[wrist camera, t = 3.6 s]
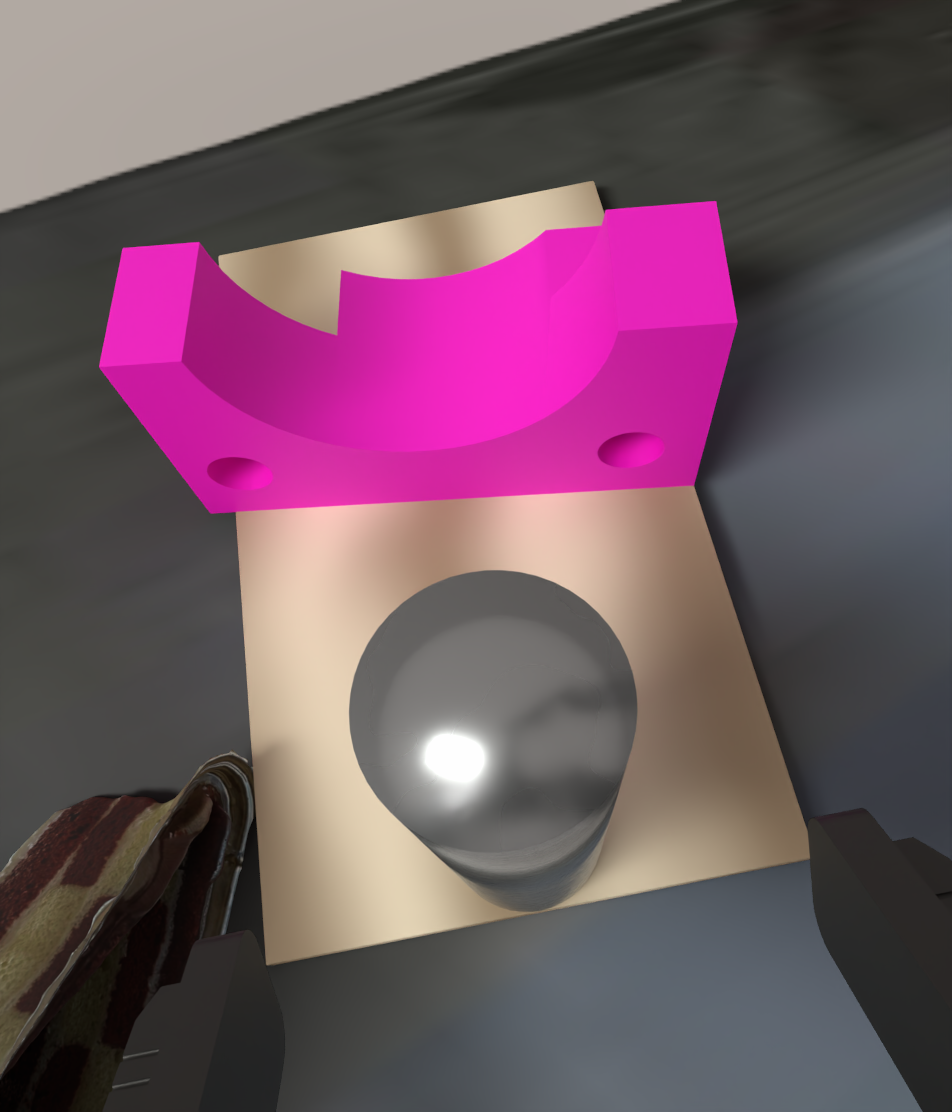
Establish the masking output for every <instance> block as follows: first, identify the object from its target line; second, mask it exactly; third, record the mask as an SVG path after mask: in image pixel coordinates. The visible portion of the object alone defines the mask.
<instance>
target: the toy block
mask: <svg viewBox="0 0 952 1112" xmlns="http://www.w3.org/2000/svg"><path fill="white" fill-rule="evenodd" d="M737 323H738V322H737V317H736V311H735V305H734V300H733V294H732V289H731V283H730V277H729V272H728V266H727V260H726V255H725V249H724V244H723V238H722V232H721V227H720V221H719V215H718V210H717V204H716V201H711V202H699V203H686V204H673V205H661V206H648V207H636V208H623V209H611V210H606V211H605V215H604V219H603V222H602V226H590V227H577V228H564V229H551V230H545V231H544V232H543V233H542V234H540V235H539V236H538V237H537V238H535V239H534V240H533V241H531V242H530V243H528V244H527V245H525V246H524V247H522V248H521V249H519V250H518V251H516V252H514V253H512V254H510V255H508V256H506V257H504V258H503V259H500V260H498V261H496V262H493V263H491V264H488V265H486V266H483V267H480V268H477V269H474V270H471V271H467V272H463V273H458V274H454V275H449V276H442V277H436V278H424V279H391V278H379V277H373V276H367V275H361V274H356V273H352V272H348V271H344V270H341V279H340V295H339V311H338V327H337V335H334V334H331V333H327V332H324V331H321V330H318V329H315V328H312V327H310V326H307V325H304V324H302V323H300V322H297V321H295V320H293V319H291V318H288V317H286V316H284V315H282V314H281V313H279V312H277V311H275V310H273V309H271V308H270V307H268V306H266V305H265V304H263V303H262V302H260V301H259V300H257V299H256V298H254V297H253V296H251V295H250V294H249V293H247V292H246V291H245V290H244V289H242V288H241V287H240V286H238V285H237V284H236V283H235V282H234V281H233V280H232V279H231V278H230V277H229V276H227V275H226V274H225V273H224V272H223V271H222V270H221V268H220V267H219V266H218V265H217V264H216V263H215V262H214V261H213V260H212V258H211V257H210V256H209V254H208V253H207V252H206V250H205V249H204V248H203V246H202V245H201V243H200V242H195V243H182V244H170V245H157V246H145V247H132V248H123V250H122V255H121V260H120V265H119V270H118V275H117V280H116V285H115V290H114V295H113V300H112V305H111V310H110V315H109V320H108V325H107V330H106V335H105V340H104V345H103V350H102V355H101V360H100V365H99V368H100V369H101V370H102V372H103V373H104V374H105V376H106V377H107V378H108V380H109V381H110V382H111V383H112V385H113V386H114V387H115V389H116V390H117V391H118V393H119V394H120V395H121V397H122V398H123V399H124V401H125V402H126V403H127V404H128V406H129V407H130V408H131V410H132V411H133V412H134V414H135V415H136V416H137V418H138V419H139V420H140V422H141V423H142V424H143V425H144V427H145V428H146V429H147V431H148V432H149V433H150V435H151V436H152V437H153V439H154V440H155V441H156V443H157V444H158V445H159V446H160V448H161V449H162V450H163V452H164V453H165V454H166V456H167V457H168V458H169V460H170V461H171V462H172V464H173V465H174V466H175V467H176V469H177V470H178V471H179V473H180V474H181V475H182V477H183V478H184V479H185V481H186V482H187V483H188V485H189V486H190V487H191V488H192V490H193V491H194V492H195V494H196V495H197V496H198V498H199V499H200V500H201V502H202V503H203V504H204V506H205V507H206V508H207V509H208V511H209V512H210V513H228V512H241V511H259V510H276V509H294V508H311V507H329V506H346V505H364V504H381V503H399V502H416V501H434V500H451V499H469V498H486V497H504V496H521V495H539V494H556V493H574V492H591V491H609V490H626V489H644V488H661V487H679V486H694V483H695V480H696V476H697V472H698V468H699V465H700V461H701V457H702V454H703V450H704V446H705V442H706V439H707V435H708V431H709V427H710V424H711V420H712V416H713V412H714V409H715V405H716V401H717V398H718V394H719V390H720V386H721V383H722V379H723V375H724V371H725V368H726V364H727V360H728V357H729V353H730V349H731V345H732V342H733V338H734V334H735V330H736V327H737Z"/></svg>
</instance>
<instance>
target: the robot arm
mask: <svg viewBox="0 0 952 1112" xmlns="http://www.w3.org/2000/svg"><path fill="white" fill-rule="evenodd" d="M808 841H809V854H810V866H811V879H812V892H813V904H814V910H815V915H816V919H817V923H818V926H819V929H820V932H821V935H822V938H823V940H824V943H825V945H826V947H827V949H828V951H829V953H830V955H831V956H832V958H833V960H834V961H835V963H836V965H837V966H838V968H839V970H840V972H841V973H842V975H843V977H844V978H845V980H846V982H847V984H848V985H849V987H850V989H851V990H852V992H853V994H854V995H855V997H856V999H857V1001H858V1002H859V1004H860V1006H861V1007H862V1009H863V1011H864V1012H865V1014H866V1016H867V1018H868V1019H869V1021H870V1023H871V1024H872V1026H873V1028H874V1029H875V1031H876V1033H877V1035H878V1036H879V1038H880V1040H881V1041H882V1043H883V1045H884V1046H885V1048H886V1050H887V1052H888V1053H889V1055H890V1057H891V1058H892V1060H893V1062H894V1063H895V1065H896V1067H897V1069H898V1070H899V1072H900V1074H901V1075H902V1077H903V1079H904V1080H905V1082H906V1084H907V1086H908V1087H909V1089H910V1091H911V1092H912V1094H913V1096H914V1097H915V1099H916V1101H917V1103H918V1104H919V1106H920V1108H921V1109H922V1111H923V1112H952V861H951V860H950V859H949V858H947V857H946V856H944V855H942V854H941V853H939V852H937V851H936V850H934V849H932V848H931V847H929V846H927V845H926V844H924V843H922V842H920V841H919V840H917V839H915V838H914V837H912V838H907V839H902V840H897V841H892V840H891V839H890V838H889V836H888V835H887V834H886V833H885V831H884V830H883V829H882V828H881V826H880V825H879V824H878V823H877V821H876V820H875V819H874V818H873V816H872V815H871V814H870V813H869V812H868V811H867V810H866V809H863V808H859V809H854V810H849V811H844V812H839V813H834V814H829V815H824V816H819V817H814V818H811V819H810V820H809V822H808ZM284 1057H285V1033H284V1024H283V1018H282V1013H281V1010H280V1006H279V1004H278V1001H277V998H276V995H275V992H274V989H273V986H272V983H271V980H270V977H269V974H268V972H267V969H266V966H265V963H264V960H263V957H262V954H261V951H260V948H259V945H258V942H257V940H256V937H255V936H254V934H253V932H252V931H250V930H244V931H239V932H234V933H229V934H224V935H219V936H214V937H209V938H204V939H199V940H197V941H196V942H195V943H194V944H193V946H192V949H191V952H190V955H189V958H188V961H187V964H186V967H185V970H184V974H183V977H182V980H181V983H177V984H172V985H167V986H162V987H161V988H160V989H159V990H158V991H157V993H156V994H155V995H154V997H153V998H152V999H151V1001H150V1002H149V1003H148V1004H147V1006H146V1007H145V1008H144V1010H143V1011H142V1012H141V1014H140V1015H139V1016H138V1017H137V1019H136V1020H135V1023H134V1026H133V1028H132V1031H131V1034H130V1037H129V1039H128V1042H127V1045H126V1048H125V1050H124V1053H123V1062H120V1064H119V1067H118V1070H117V1072H116V1075H115V1078H114V1081H113V1084H112V1087H113V1090H112V1092H109V1095H108V1097H107V1100H106V1103H105V1106H104V1108H103V1111H102V1112H276V1107H277V1101H278V1095H279V1089H280V1083H281V1076H282V1070H283V1064H284Z"/></svg>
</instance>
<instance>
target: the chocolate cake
mask: <svg viewBox="0 0 952 1112" xmlns="http://www.w3.org/2000/svg"><path fill="white" fill-rule="evenodd" d="M255 815H256V805H255V791H254V776H253V767H249V766H248V763H247V759H245V758H241V757H240V756H238V755H237V754H236V753H235V752H234V751H233V750H231V752H230V753H228V754H221V755H220V756H218V755H217V756H216V757H214V758H210V759H209V760H208V761H207V762H206V763H204V765H203V766H200V767H199V769H198V770H197V772H196V773H195V775H194V776H193V778H192V779H191V780H190V781H189V782H188V784H187V785H186V786H185V787H184V788H183V789H182V791H181V792H180V793H179V794H178V795H177V796H176V798H175V799H172V800H170V801H169V802H167V803H158V802H157V801H156V800H154V799H152V798H149V797H130V796H127V795H124V796H122V797H120V798H115V799H111V798H106V797H92V798H89V799H87V800H84V801H82V802H80V803H78V804H76V805H74V806H72V807H69V808H66V809H62V810H60V811H57V812H55V813H54V814H53V815H52V816H51V818H50V819H49V820H47V821H46V822H45V823H44V824H43V825H42V826H41V827H40V828H39V829H38V830H37V831H36V832H35V833H34V834H33V835H32V836H31V837H30V838H29V839H28V840H27V841H26V842H25V843H24V844H23V845H22V846H21V847H20V848H19V849H18V850H17V851H16V852H15V853H14V854H13V855H12V857H11V858H10V860H9V862H8V864H7V865H6V867H5V868H4V869H3V870H2V872H1V873H0V1112H102V1111H103V1108H104V1106H105V1103H106V1100H107V1097H108V1095H109V1092H112V1090H113V1087H112V1084H113V1081H114V1078H115V1075H116V1072H117V1070H118V1067H119V1064H120V1062H123V1053H124V1050H125V1048H126V1045H127V1042H128V1039H129V1037H130V1034H131V1031H132V1028H133V1026H134V1023H135V1020H136V1019H137V1017H138V1016H139V1015H140V1014H141V1012H142V1011H143V1010H144V1008H145V1007H146V1006H147V1004H148V1003H149V1002H150V1001H151V999H152V998H153V997H154V995H155V994H156V993H157V991H158V990H159V989H160V988H161V987H162V986H167V985H172V984H177V983H181V980H182V977H183V974H184V970H185V967H186V964H187V961H188V958H189V955H190V952H191V949H192V946H193V944H194V943H195V942H196V941H197V940H199V939H204V938H209V937H214V936H219V935H224V934H225V933H226V930H227V926H228V922H229V917H230V912H231V906H232V901H233V897H234V893H235V889H236V885H237V881H238V876H239V873H240V871H241V869H242V862H243V857H244V851H245V845H246V840H247V835H248V831H249V828H250V825H251V822H252V820H253V818H254V817H255Z"/></svg>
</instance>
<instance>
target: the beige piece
mask: <svg viewBox="0 0 952 1112" xmlns="http://www.w3.org/2000/svg"><path fill="white" fill-rule="evenodd" d="M604 215H605V214H604V211H603V208H602V205H601V202H600V199H599V196H598V193H597V190H596V187H595V184H594V181H590V182H585V183H580V184H575V185H570V186H565V187H560V188H555V189H550V190H545V191H540V192H535V193H530V194H525V195H520V196H515V197H510V198H505V199H500V200H495V201H490V202H485V203H480V204H475V205H470V206H465V207H460V208H455V209H450V210H445V211H440V212H435V213H430V214H425V215H420V216H415V217H410V218H405V219H400V220H395V221H390V222H385V223H380V224H375V225H370V226H365V227H360V228H355V229H350V230H345V231H340V232H335V233H331V234H326V235H321V236H316V237H311V238H306V239H301V240H296V241H291V242H286V243H281V244H276V245H271V246H266V247H261V248H256V249H251V250H246V251H241V252H236V253H231V254H226V255H221V256H219V267H220V268H221V270H222V271H223V272H224V273H225V274H226V275H227V276H229V277H230V278H231V279H232V280H233V281H234V282H235V283H236V284H237V285H238V286H240V287H241V288H242V289H244V290H245V291H246V292H247V293H249V294H250V295H251V296H253V297H254V298H256V299H257V300H259V301H260V302H262V303H263V304H265V305H266V306H268V307H270V308H271V309H273V310H275V311H277V312H279V313H281V314H282V315H284V316H286V317H288V318H291V319H293V320H295V321H297V322H300V323H302V324H304V325H307V326H310V327H312V328H315V329H318V330H321V331H324V332H327V333H331V334H334V335H337V327H338V311H339V295H340V279H341V270H344V271H348V272H352V273H356V274H361V275H367V276H373V277H379V278H391V279H424V278H436V277H442V276H449V275H454V274H458V273H463V272H467V271H471V270H474V269H477V268H480V267H483V266H486V265H488V264H491V263H493V262H496V261H498V260H500V259H503V258H504V257H506V256H508V255H510V254H512V253H514V252H516V251H518V250H519V249H521V248H522V247H524V246H525V245H527V244H528V243H530V242H531V241H533V240H534V239H535V238H537V237H538V236H539V235H540V234H542V233H543V232H544V231H545V230H551V229H564V228H577V227H590V226H602V222H603V219H604ZM236 522H237V537H238V552H239V567H240V582H241V597H242V612H243V627H244V642H245V656H246V671H247V686H248V701H249V716H250V731H251V746H252V761H253V776H254V791H255V805H256V820H257V835H258V850H259V865H260V880H261V895H262V910H263V925H264V939H265V954H266V965H277V964H282V963H288V962H293V961H298V960H303V959H308V958H313V957H318V956H323V955H328V954H333V953H338V952H343V951H348V950H353V949H358V948H364V947H369V946H374V945H379V944H384V943H389V942H394V941H399V940H404V939H409V938H414V937H419V936H424V935H429V934H435V933H440V932H445V931H450V930H455V929H460V928H465V927H470V926H475V925H480V924H485V923H490V922H495V921H500V920H505V919H511V918H516V917H521V916H526V915H531V914H536V913H541V912H546V911H551V910H556V909H561V908H566V907H571V906H576V905H582V904H587V903H592V902H597V901H602V900H607V899H612V898H617V897H622V896H627V895H632V894H637V893H642V892H647V891H653V890H658V889H663V888H668V887H673V886H678V885H683V884H688V883H693V882H698V881H703V880H708V879H713V878H718V877H723V876H729V875H734V874H739V873H744V872H749V871H754V870H759V869H764V868H769V867H774V866H779V865H784V864H789V863H794V862H800V861H805V860H810V854H809V841H808V831H807V828H806V825H805V822H804V819H803V816H802V813H801V810H800V807H799V804H798V801H797V798H796V795H795V792H794V789H793V786H792V783H791V780H790V777H789V774H788V771H787V768H786V765H785V761H784V758H783V755H782V752H781V749H780V746H779V743H778V740H777V737H776V734H775V731H774V728H773V725H772V722H771V719H770V716H769V713H768V710H767V707H766V704H765V701H764V698H763V695H762V692H761V688H760V685H759V682H758V679H757V676H756V673H755V670H754V667H753V664H752V661H751V658H750V655H749V652H748V649H747V646H746V643H745V640H744V637H743V634H742V631H741V628H740V625H739V622H738V619H737V616H736V612H735V609H734V606H733V603H732V600H731V597H730V594H729V591H728V588H727V585H726V582H725V579H724V576H723V573H722V570H721V567H720V564H719V561H718V558H717V555H716V552H715V549H714V546H713V543H712V539H711V536H710V533H709V530H708V527H707V524H706V521H705V518H704V515H703V512H702V509H701V506H700V503H699V500H698V497H697V494H696V491H695V488H694V486H679V487H661V488H644V489H626V490H609V491H591V492H574V493H556V494H539V495H521V496H504V497H486V498H469V499H451V500H434V501H416V502H399V503H381V504H364V505H346V506H329V507H311V508H294V509H276V510H259V511H241V512H236Z"/></svg>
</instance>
